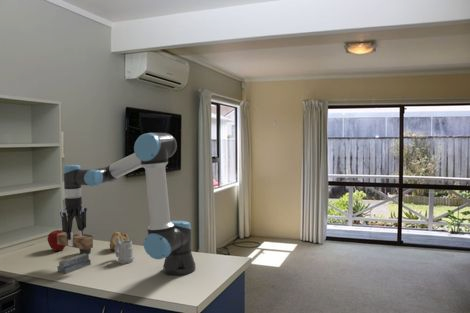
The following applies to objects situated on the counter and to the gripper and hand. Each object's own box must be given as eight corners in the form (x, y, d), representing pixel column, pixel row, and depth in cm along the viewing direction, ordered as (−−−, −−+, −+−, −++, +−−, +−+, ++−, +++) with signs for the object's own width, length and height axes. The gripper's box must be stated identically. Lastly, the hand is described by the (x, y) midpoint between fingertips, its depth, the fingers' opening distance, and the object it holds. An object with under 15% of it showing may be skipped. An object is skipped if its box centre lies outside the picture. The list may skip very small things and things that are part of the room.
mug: (125, 264, 190) (124, 240, 189) (109, 260, 196) (108, 237, 195) (137, 260, 196) (136, 237, 195) (121, 256, 203) (120, 234, 202)
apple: (45, 250, 217) (44, 229, 216) (64, 246, 224) (64, 226, 224) (51, 254, 209) (50, 233, 208) (71, 250, 216) (70, 229, 216)
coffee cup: (87, 250, 215) (86, 232, 215) (96, 252, 211) (95, 234, 210) (74, 254, 209) (73, 235, 208) (83, 256, 204) (82, 238, 203)
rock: (112, 246, 221) (111, 229, 221) (130, 245, 222) (129, 228, 222) (107, 253, 209) (106, 234, 209) (126, 252, 211) (126, 234, 210)
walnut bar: (92, 247, 184) (92, 237, 184) (86, 249, 180) (85, 239, 180) (64, 242, 193) (64, 232, 193) (57, 244, 190) (57, 234, 189)
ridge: (90, 264, 191) (90, 254, 191) (65, 273, 179) (65, 263, 179) (82, 262, 194) (82, 253, 194) (57, 271, 182) (57, 261, 182)
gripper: (83, 193, 195) (85, 239, 196) (52, 199, 180) (54, 248, 181) (93, 194, 191) (95, 241, 192) (62, 200, 176) (64, 250, 177)
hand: (75, 244), depth 187 cm, fingers closed on walnut bar, 4 cm apart
